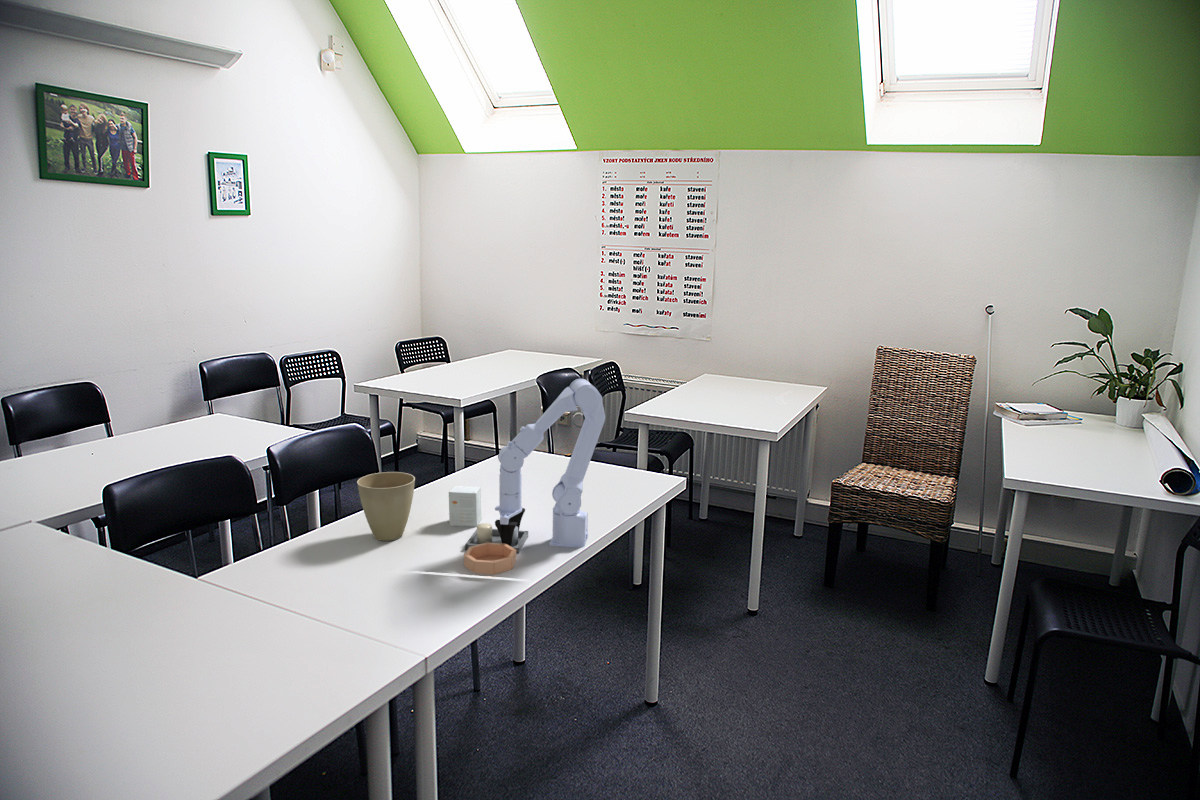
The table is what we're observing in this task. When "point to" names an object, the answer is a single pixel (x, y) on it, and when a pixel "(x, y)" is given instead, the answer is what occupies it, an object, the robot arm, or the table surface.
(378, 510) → the plant pot
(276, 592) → the table surface
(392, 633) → the table surface
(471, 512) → the small box
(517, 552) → the tray
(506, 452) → the robot arm
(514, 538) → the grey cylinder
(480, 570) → the bowl
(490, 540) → the pebble sand
